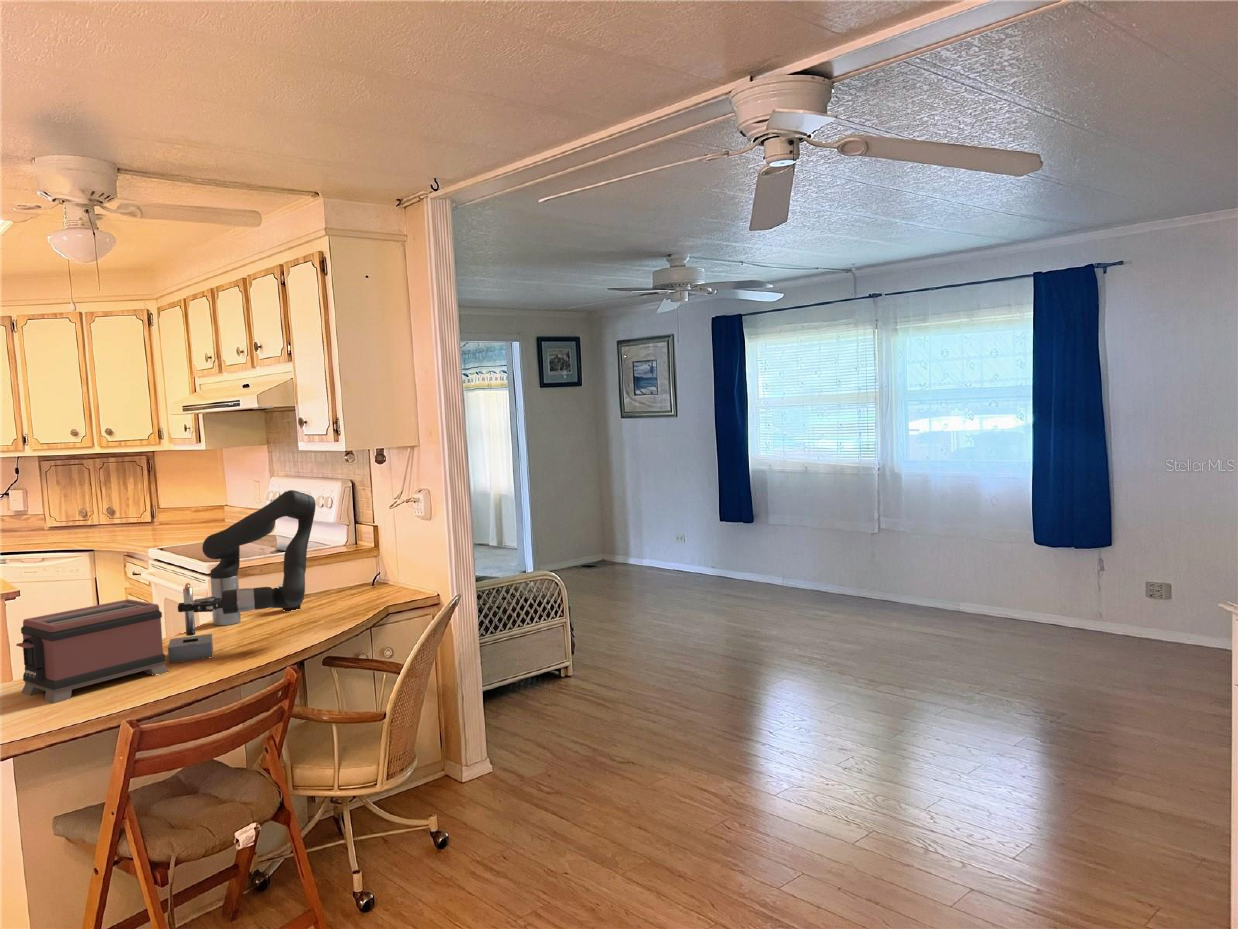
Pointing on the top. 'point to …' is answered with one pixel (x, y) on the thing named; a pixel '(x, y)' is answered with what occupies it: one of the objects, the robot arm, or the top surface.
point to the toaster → (90, 647)
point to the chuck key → (189, 614)
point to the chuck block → (190, 648)
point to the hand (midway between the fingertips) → (178, 607)
